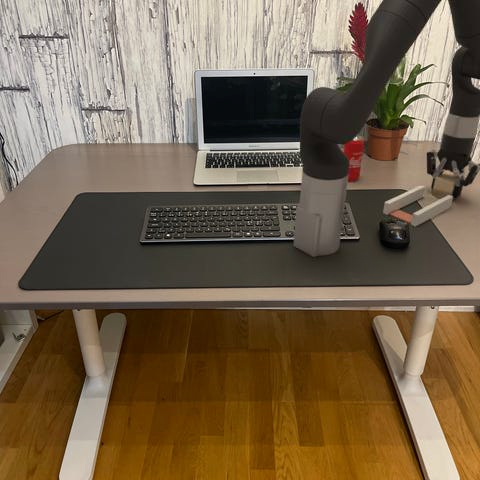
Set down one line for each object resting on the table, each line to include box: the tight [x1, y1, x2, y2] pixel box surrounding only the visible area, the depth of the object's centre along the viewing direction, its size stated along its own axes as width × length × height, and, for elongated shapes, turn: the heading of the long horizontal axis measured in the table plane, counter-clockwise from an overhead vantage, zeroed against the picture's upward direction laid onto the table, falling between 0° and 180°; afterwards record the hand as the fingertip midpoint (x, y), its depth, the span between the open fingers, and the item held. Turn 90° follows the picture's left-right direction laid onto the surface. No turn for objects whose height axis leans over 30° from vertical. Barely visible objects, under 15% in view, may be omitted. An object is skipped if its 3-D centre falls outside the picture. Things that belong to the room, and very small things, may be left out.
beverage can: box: [343, 134, 365, 182], centre depth 137 cm, size 5×5×12 cm
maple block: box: [431, 171, 464, 201], centre depth 129 cm, size 6×5×5 cm
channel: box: [382, 185, 454, 227], centre depth 122 cm, size 16×9×3 cm, turn 131°
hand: (444, 194), depth 130 cm, fingers closed on maple block, 5 cm apart
